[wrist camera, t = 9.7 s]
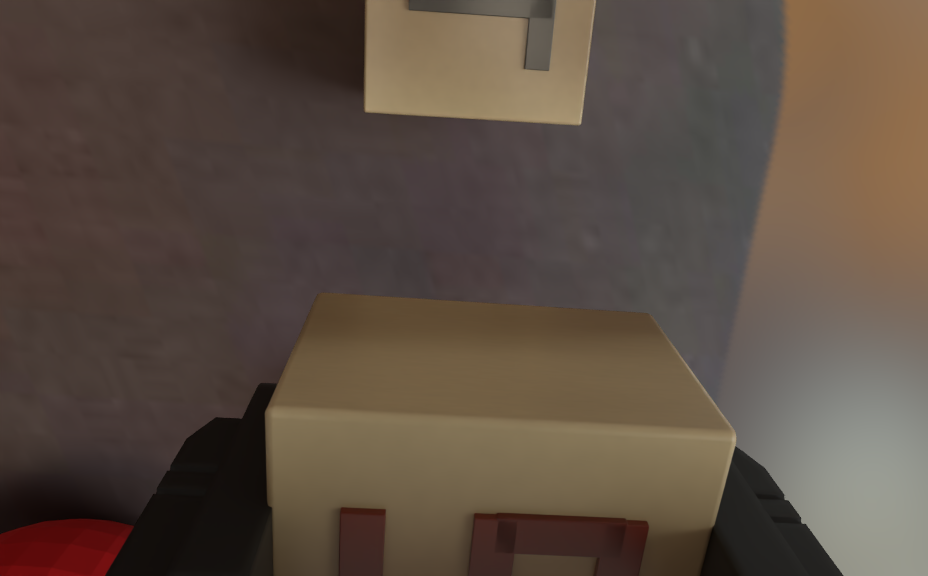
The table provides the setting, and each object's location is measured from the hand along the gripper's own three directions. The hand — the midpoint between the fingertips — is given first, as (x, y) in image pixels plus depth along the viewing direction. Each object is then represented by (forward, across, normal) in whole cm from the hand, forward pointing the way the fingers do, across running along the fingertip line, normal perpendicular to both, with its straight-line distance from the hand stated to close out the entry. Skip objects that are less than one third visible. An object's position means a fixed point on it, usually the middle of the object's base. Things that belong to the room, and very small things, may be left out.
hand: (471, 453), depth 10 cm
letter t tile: (+9, 0, -6) cm, 11 cm away
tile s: (0, 0, 0) cm, 0 cm away
